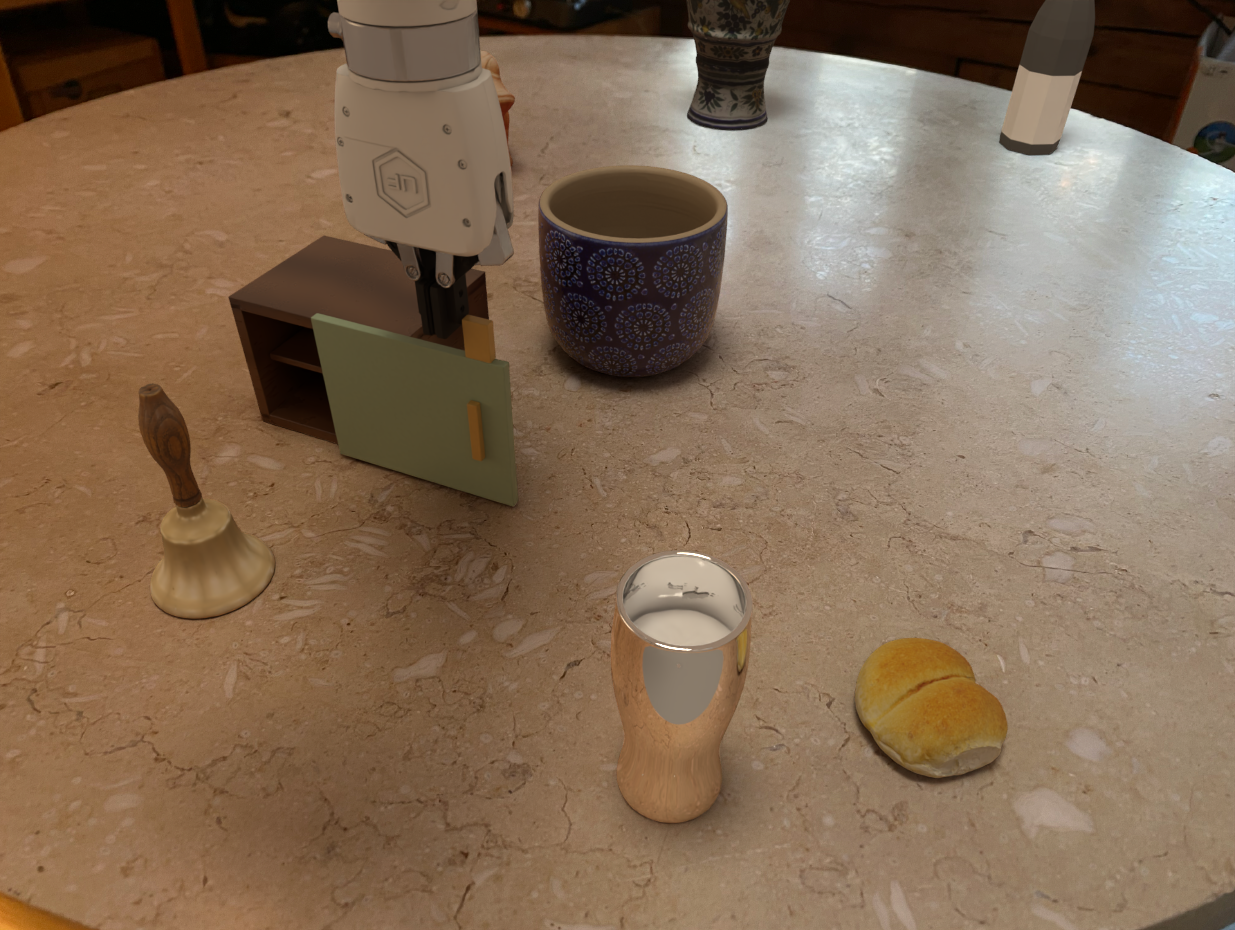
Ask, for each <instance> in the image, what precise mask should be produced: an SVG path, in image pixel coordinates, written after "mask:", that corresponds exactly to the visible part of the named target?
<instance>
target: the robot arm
mask: <svg viewBox="0 0 1235 930" xmlns="http://www.w3.org/2000/svg"><path fill="white" fill-rule="evenodd" d="M336 2H337V3H336V4H337V9H338V12H335V11H333V12H332V13H330V14H329V16H328V19H327V29H328V32H329V34H330V35H331V36H332V37H333V38H337V39H338V38H339V39H341V41H342V42H343V49H344V56H345V61H346V63H344V64H342V65H339V66H338V67H337V68H336V72H335V73H336V74H335V83H334V85H335V86H334V100H333V101H334V104H333V105H334V106H333V108H334V109H333V111H334V112H333V113H334V114H333V117H334V119H333V120H334V139H335V152H336V153H335V154H336V163H337V172H338V180H339V187H340V194H341V200H342V207H343V211H344V215H345V219H346V221H347V223H348V224H349V226H351V227H352V228H353V229H354V230H355V231H357V232H359V233H360V234H363V235H364V236H366V237H368V238H370V239H372V240H374V241H376V242H377V243H380V244H382V245H385V246H386V245H387V247H388V248H389V250H391V251H393V253H394V254H395V255H396V256H397V257H398V258H399V259H400V260H401V261H402V264H403V268H404V272H405V274H406V276H407V277H408V278H409V279H411V280H413V281H415V287H416V295H417V302H418V309H419V313H420V315H421V320H422V328H423V333H424V334H426V335H429V336H433V335H435V334H436V335H437V337H438V338H441V339H447V338H448V337H449V336H450V335H451V334H452V333H453V332H454V331H456V330H457V329H458V328H459V327H460V326H461V325H462V319H463V318H464V317H465V316H466V315H468V314H469V305H468V294H467V284H466V273H467V272H468V271H469V270H470V269H473V268H474V267H475V266H480V267H495V266H497V267H498V266H503V265H504V264H505V263H506V262H508V261H509V260H510V259H511V258H512V257H513V256H514V253H515V252H514V251H515V250H514V246H513V242H512V240H511V235H510V232H509V229H511V227H512V225H513V223H514V217H515V204H514V203H515V201H514V199H515V198H514V186H513V174H512V166H510V158H509V152H510V150H509V151H508V147H509V144H508V145H507V138H506V132H505V127H504V122H503V117H502V112H501V108H500V104H499V100H498V96H497V92H496V88H495V85H494V82H493V78H492V75H491V72H490V71H489V70H487V69H483V68H482V64H481V52H480V51H481V40H480V26H479V13H478V3H477V2H478V1H477V0H336Z"/></svg>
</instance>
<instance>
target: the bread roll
mask: <svg viewBox="0 0 1235 930" xmlns="http://www.w3.org/2000/svg"><path fill="white" fill-rule="evenodd" d="M854 702H855V703H854V704H855V710H856V712H857V715H858V718H859V720H860V721H861V723H862V725H863V726H864V727H865V728H866V730H868V731H869V732H870V734H871V736H872V737H873V740H874V742H875V743H876V744H877V746H878V747H879V749H881V751H882V752H883V753H884V754H886V756H888V757H889V758H891V760H893V762H895V763H896V764H897V765H899V766H901V767H903V768H905V769H906V770H908V771H911V772H912V773H914V774H917V775H921V776H925V777H929V778H933V779H934V778H935V779H940V778H946V777H952V776H961V775H964V774H967V773H970V772H972V771H975V770H978V769H981V768H982V767H983V768H984V767H985V766H986V765H989V764H991V763H992V762H994V761H995V760H996V759H997V758H998V757H999V756H1000V754H1001V753H1002V747H1003V744H1004V742H1005V740H1006V738H1007V734H1008V730H1009V728H1008V726H1009V725H1008V720H1007V714H1006V712H1005V710H1004V707H1003V706H1002V703H1001V702H1000V700H999V699H998V698H997V696H995V694H993V693H991V692H990V691H989V690H988V689H986V688H985V687H983V686H981V685H980V684H978V683H976V677H975V672H974V670H973V667H972V665H971V664H970V662H969V661H968V660H967V658H966V657H965V656H963V655H962V653H960V652H959V651H958V650H956V649H955V648H953V647H952V646H951V645H948V644H946V643H945V642H941V641H938V640H934V639H929V638H922V637H903V638H897V639H894V640H890V641H888V642H885V643H884V644H881V645H879V646H878V647H877V648H876V649H875V650H873V652H872V653H871V654H870V655H868V657H867V658H866V660H865V661H864V663H863V664H862V666H861V668H860V670H859V672H858V674H857V678H856V682H855V689H854Z"/></svg>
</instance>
